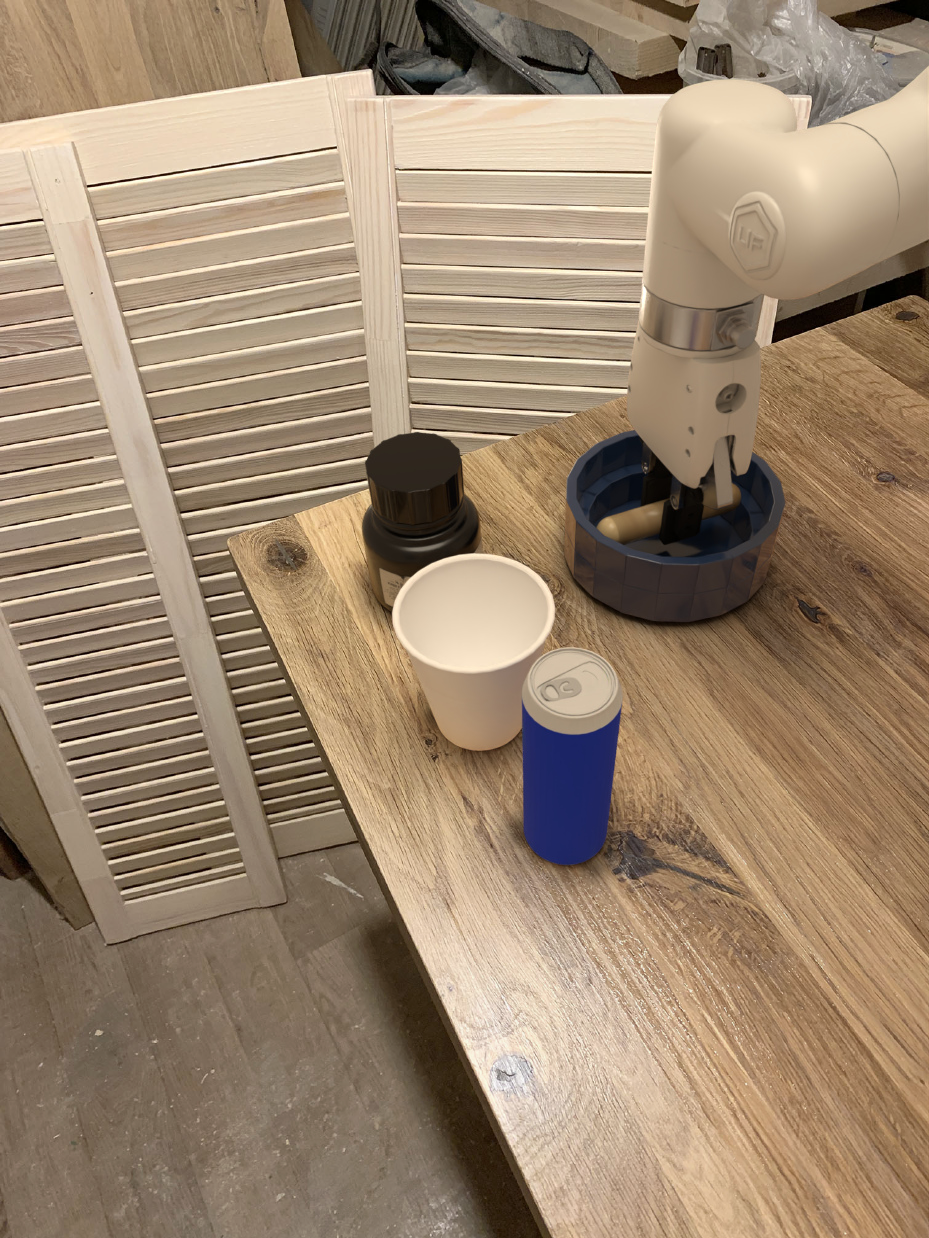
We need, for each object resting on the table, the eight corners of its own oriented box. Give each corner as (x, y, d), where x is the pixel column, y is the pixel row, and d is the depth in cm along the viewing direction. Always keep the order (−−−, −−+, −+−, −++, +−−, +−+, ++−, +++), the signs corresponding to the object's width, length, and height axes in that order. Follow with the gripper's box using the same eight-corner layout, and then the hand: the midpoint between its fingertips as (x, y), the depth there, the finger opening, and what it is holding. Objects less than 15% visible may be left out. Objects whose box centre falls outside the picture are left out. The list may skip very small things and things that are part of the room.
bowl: (718, 474, 80) (730, 412, 76) (804, 603, 70) (824, 539, 65) (540, 509, 79) (541, 446, 74) (600, 646, 68) (605, 583, 63)
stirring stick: (728, 496, 74) (732, 472, 72) (744, 514, 72) (749, 490, 71) (589, 538, 72) (591, 514, 70) (603, 558, 70) (605, 534, 68)
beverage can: (583, 785, 60) (595, 631, 49) (621, 852, 57) (642, 702, 46) (510, 812, 59) (505, 661, 48) (544, 882, 56) (547, 736, 45)
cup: (577, 747, 62) (583, 639, 54) (439, 798, 60) (424, 694, 52) (517, 645, 68) (515, 534, 60) (390, 688, 66) (370, 580, 58)
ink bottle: (392, 640, 69) (372, 520, 61) (350, 568, 75) (326, 448, 66) (507, 596, 72) (504, 473, 63) (459, 529, 77) (449, 408, 69)
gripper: (827, 355, 54) (769, 578, 68) (687, 242, 64) (661, 455, 78) (714, 386, 53) (677, 608, 66) (590, 265, 63) (580, 478, 76)
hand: (669, 524), depth 72 cm, fingers closed on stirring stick, 2 cm apart
